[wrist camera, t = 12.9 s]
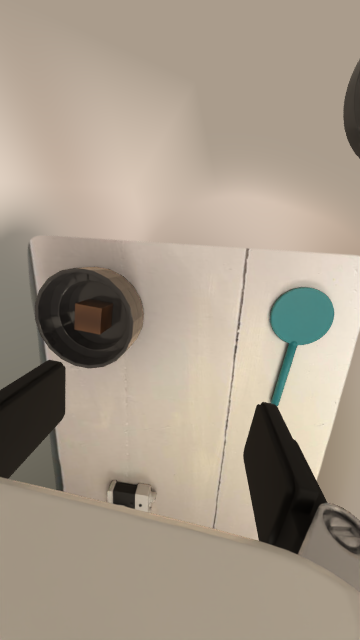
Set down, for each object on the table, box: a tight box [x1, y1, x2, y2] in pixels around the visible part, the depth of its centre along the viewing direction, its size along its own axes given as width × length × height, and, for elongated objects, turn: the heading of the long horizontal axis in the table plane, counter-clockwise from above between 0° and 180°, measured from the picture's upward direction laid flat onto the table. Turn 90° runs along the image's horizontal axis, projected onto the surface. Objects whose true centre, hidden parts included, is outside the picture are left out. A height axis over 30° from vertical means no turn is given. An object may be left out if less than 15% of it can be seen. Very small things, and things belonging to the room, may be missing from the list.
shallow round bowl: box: [35, 267, 144, 368], centre depth 35 cm, size 15×15×6 cm
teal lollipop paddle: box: [270, 287, 334, 406], centre depth 35 cm, size 21×9×1 cm, turn 172°
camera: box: [107, 480, 157, 513], centre depth 46 cm, size 15×7×10 cm
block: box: [74, 299, 113, 334], centre depth 35 cm, size 4×4×4 cm
